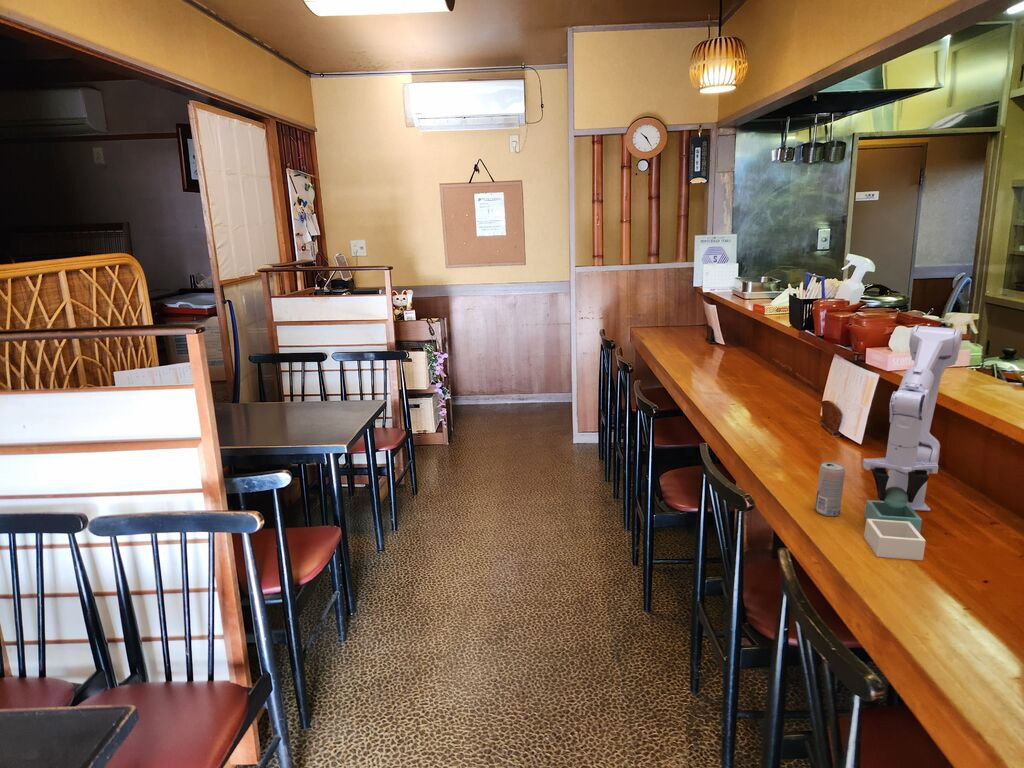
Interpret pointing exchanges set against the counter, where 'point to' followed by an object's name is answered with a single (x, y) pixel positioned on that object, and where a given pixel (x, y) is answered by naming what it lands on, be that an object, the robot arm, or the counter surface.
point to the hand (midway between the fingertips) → (894, 499)
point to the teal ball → (895, 497)
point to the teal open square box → (892, 513)
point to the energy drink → (830, 489)
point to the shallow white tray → (894, 539)
